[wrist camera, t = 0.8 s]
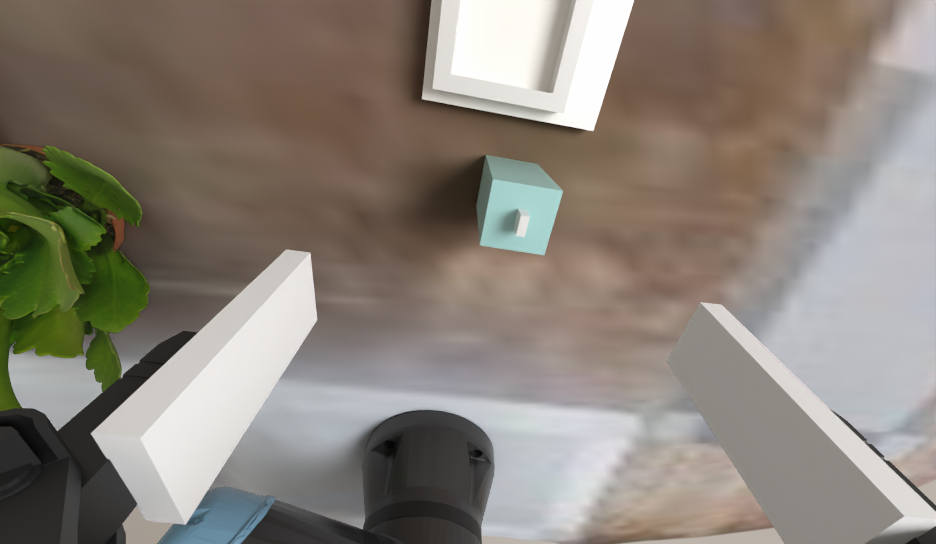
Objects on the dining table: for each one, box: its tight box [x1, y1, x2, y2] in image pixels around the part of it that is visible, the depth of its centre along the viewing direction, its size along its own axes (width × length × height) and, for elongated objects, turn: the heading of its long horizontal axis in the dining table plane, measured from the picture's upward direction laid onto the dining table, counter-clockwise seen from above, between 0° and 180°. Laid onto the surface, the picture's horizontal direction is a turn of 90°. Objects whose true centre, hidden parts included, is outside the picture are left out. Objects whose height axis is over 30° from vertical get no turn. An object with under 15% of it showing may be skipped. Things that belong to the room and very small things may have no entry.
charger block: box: [476, 155, 563, 255], centre depth 23 cm, size 4×4×9 cm
